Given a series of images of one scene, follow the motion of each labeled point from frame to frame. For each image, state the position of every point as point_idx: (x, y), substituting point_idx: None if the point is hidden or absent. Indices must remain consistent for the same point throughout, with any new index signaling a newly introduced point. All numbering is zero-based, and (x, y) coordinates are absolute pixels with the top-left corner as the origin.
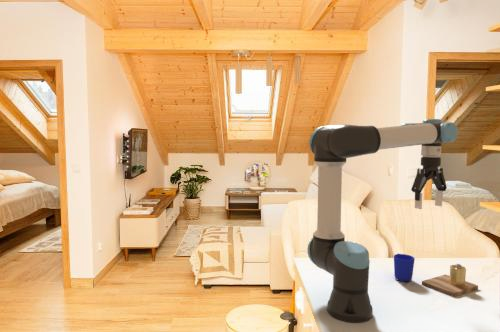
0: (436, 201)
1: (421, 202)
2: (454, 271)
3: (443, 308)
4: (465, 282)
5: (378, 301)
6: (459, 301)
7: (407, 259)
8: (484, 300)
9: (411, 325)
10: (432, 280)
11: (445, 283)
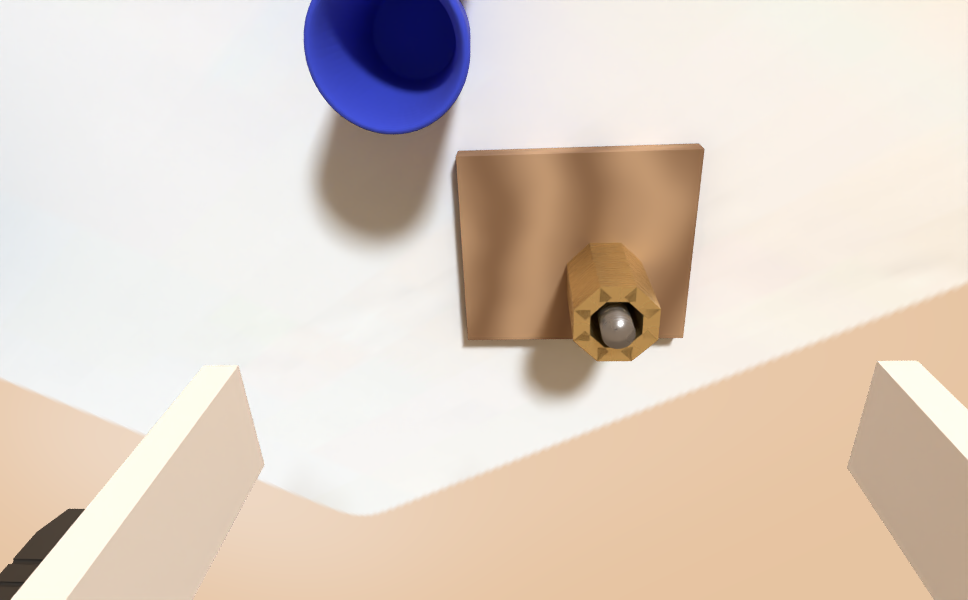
0: (917, 445)
1: (196, 560)
2: (572, 317)
3: (313, 372)
4: (669, 284)
5: (66, 198)
6: (444, 365)
7: (454, 29)
8: (559, 405)
9: (82, 398)
10: (524, 180)
11: (550, 244)
